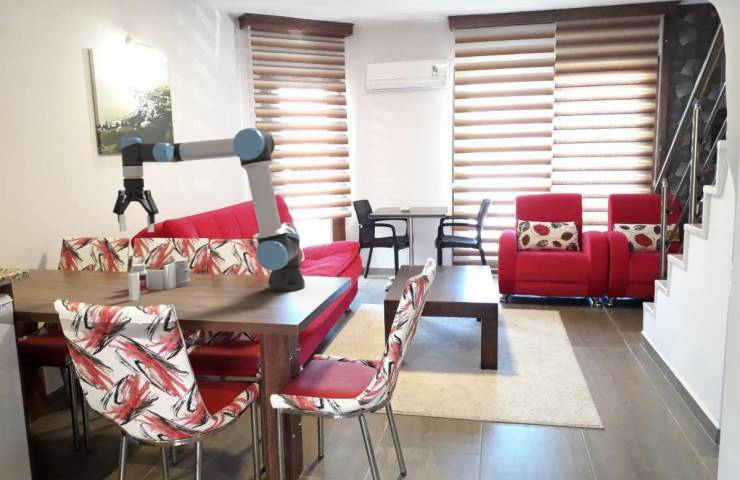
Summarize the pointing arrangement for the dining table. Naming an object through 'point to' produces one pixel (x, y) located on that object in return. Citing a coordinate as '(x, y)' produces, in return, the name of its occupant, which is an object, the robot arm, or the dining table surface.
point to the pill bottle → (141, 276)
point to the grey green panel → (155, 279)
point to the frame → (135, 284)
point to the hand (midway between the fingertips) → (136, 231)
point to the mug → (181, 272)
